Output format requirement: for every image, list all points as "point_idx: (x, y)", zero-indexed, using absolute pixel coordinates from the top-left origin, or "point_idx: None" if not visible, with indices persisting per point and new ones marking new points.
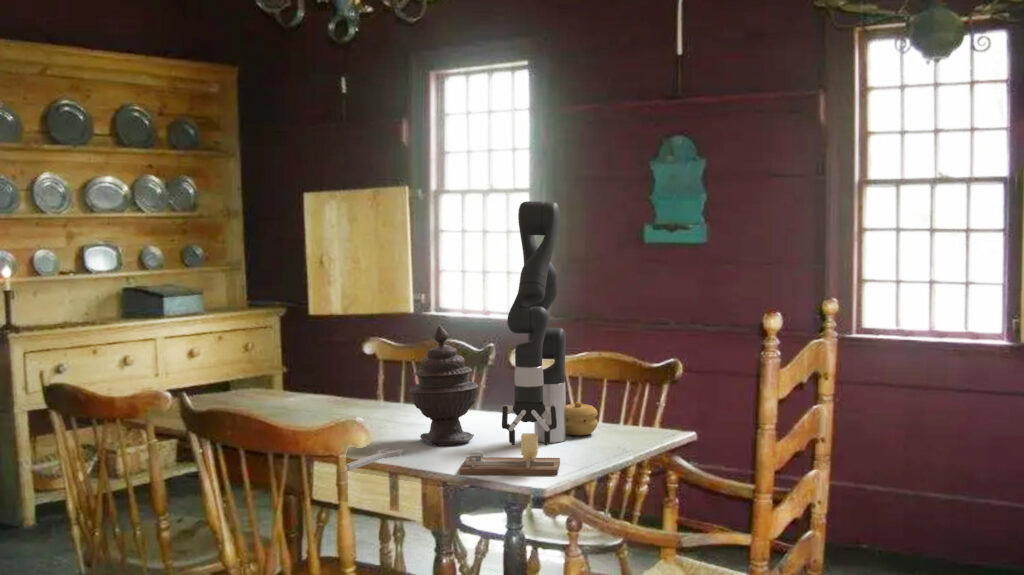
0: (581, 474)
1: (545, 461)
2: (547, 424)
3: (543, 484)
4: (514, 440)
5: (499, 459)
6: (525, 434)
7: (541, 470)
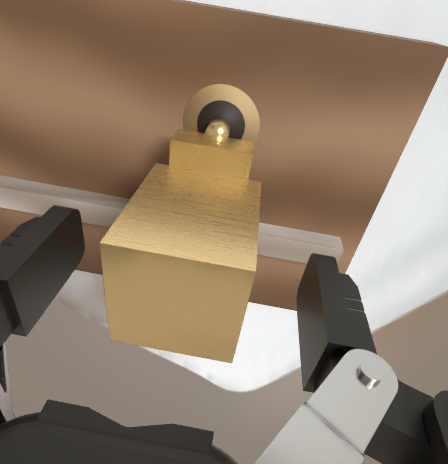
0: (432, 296)
1: (291, 253)
2: (367, 420)
3: (249, 372)
4: (67, 263)
5: (16, 55)
6: (136, 292)
7: (257, 300)
